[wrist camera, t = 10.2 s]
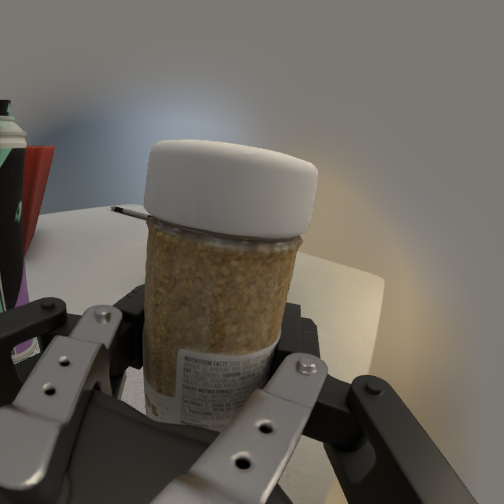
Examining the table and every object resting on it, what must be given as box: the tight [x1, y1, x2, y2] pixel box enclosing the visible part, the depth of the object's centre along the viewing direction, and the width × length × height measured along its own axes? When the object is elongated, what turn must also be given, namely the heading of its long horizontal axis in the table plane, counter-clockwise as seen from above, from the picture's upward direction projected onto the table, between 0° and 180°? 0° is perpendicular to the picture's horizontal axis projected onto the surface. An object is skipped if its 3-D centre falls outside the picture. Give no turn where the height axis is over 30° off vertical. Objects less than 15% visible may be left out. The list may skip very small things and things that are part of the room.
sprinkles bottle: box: [143, 139, 318, 432], centre depth 10 cm, size 5×5×14 cm
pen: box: [111, 206, 151, 219], centre depth 73 cm, size 1×16×1 cm, turn 68°
